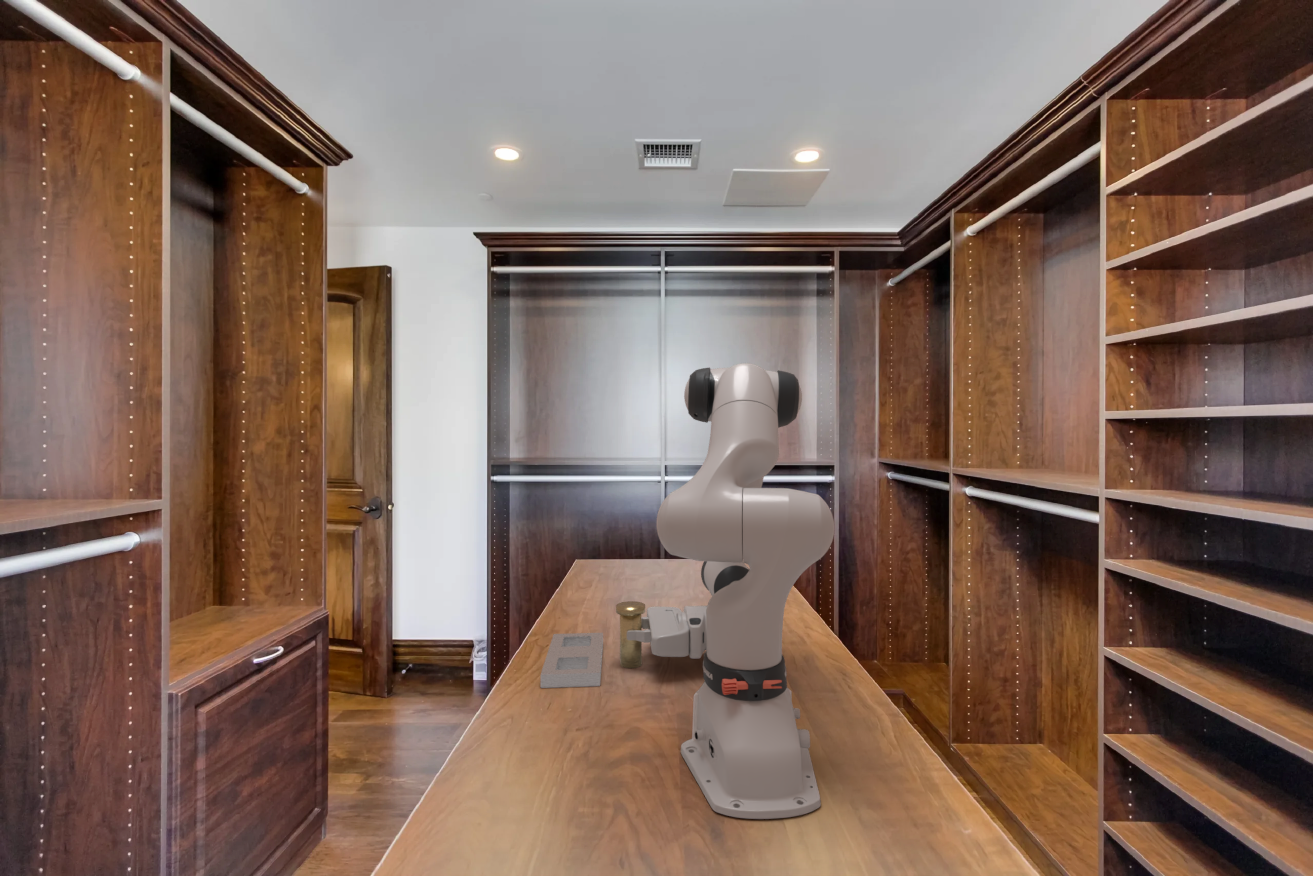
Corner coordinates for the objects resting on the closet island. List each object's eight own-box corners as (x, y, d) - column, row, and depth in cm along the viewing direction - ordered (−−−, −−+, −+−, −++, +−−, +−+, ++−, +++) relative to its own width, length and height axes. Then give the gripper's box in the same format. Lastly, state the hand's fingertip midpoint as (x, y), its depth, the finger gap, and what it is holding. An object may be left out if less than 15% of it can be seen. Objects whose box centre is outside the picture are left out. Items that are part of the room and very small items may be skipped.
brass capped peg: (646, 669, 116) (645, 609, 116) (616, 670, 115) (615, 610, 115) (644, 657, 122) (644, 601, 122) (616, 658, 121) (616, 601, 121)
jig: (600, 686, 108) (599, 672, 108) (540, 688, 107) (540, 674, 107) (603, 643, 130) (603, 632, 130) (553, 645, 129) (553, 634, 129)
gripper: (687, 598, 130) (625, 600, 129) (700, 629, 109) (627, 631, 108) (687, 626, 130) (625, 628, 129) (700, 662, 109) (627, 664, 108)
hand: (626, 629), depth 118 cm, fingers closed on brass capped peg, 4 cm apart
